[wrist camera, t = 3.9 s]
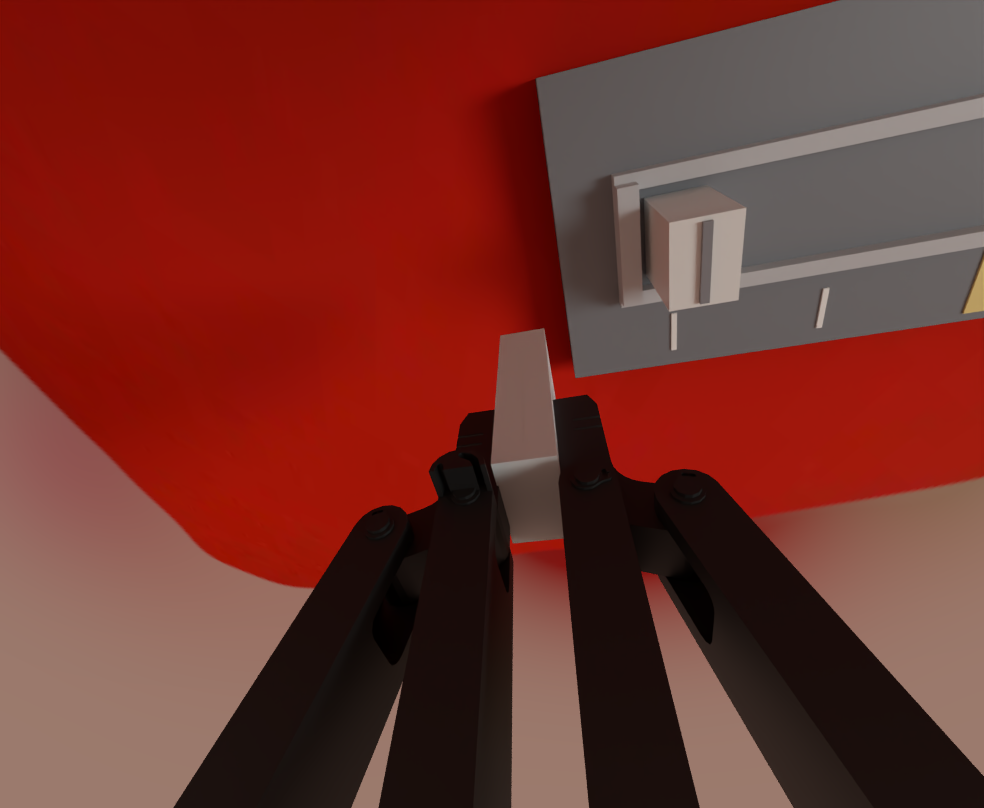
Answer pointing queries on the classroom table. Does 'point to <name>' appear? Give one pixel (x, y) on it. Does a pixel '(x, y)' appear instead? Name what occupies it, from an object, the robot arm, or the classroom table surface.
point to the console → (777, 179)
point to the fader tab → (694, 247)
